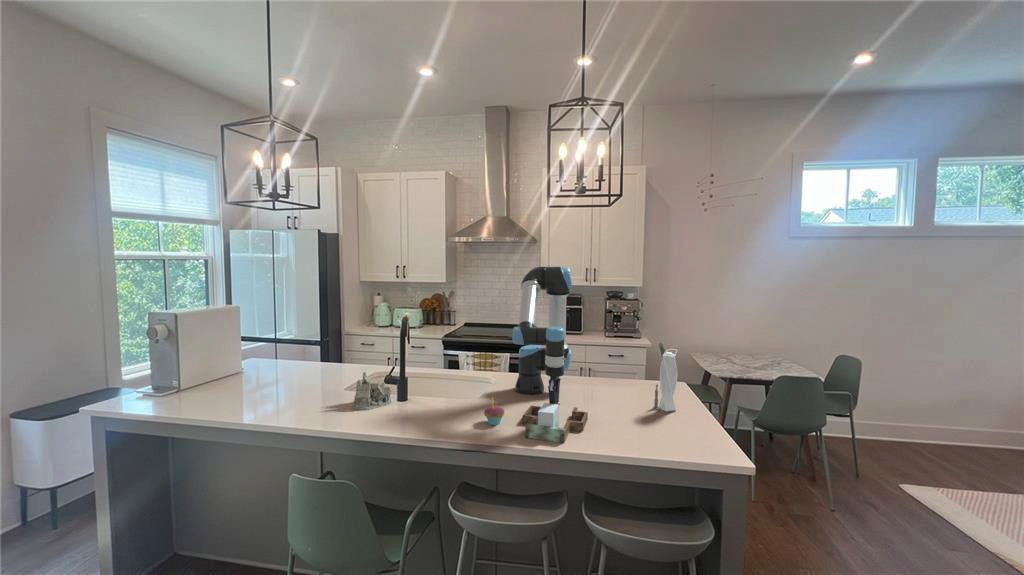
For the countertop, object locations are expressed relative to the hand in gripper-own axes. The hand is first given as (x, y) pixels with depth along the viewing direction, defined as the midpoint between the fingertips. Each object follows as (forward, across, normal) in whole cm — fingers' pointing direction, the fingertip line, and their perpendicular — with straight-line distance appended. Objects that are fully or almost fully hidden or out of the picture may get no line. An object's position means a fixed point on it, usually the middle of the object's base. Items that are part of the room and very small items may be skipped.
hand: (553, 421), depth 177 cm
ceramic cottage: (+2, -4, +85) cm, 86 cm away
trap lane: (+2, -1, 0) cm, 2 cm away
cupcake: (+2, -6, +24) cm, 25 cm away
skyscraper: (+3, +35, -45) cm, 57 cm away
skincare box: (+2, -9, 0) cm, 9 cm away
